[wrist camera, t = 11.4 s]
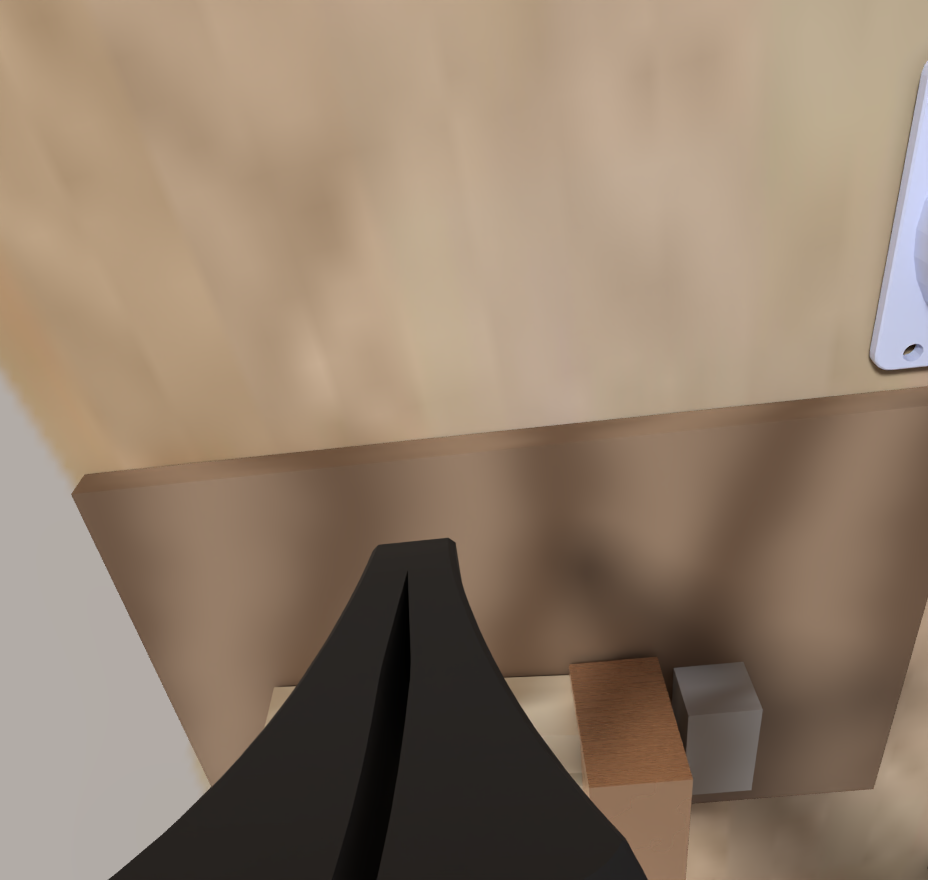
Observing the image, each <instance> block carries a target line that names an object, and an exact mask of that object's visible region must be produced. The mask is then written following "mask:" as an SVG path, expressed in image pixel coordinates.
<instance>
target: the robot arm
mask: <svg viewBox="0 0 928 880" xmlns="http://www.w3.org/2000/svg"><path fill="white" fill-rule="evenodd" d="M913 344H916V346H915V348H914V350H913V351H912V352H910V353H909V354H906V355H903V353H904V351H905V349H906V348H907V347H909V346H910V345H913ZM870 358H871V359H872V361H873V362H874V363H875V364H876V365H877V366H878V367H879V368H881V369H883V370H897V369H906V368H916V367H925V366H928V61H927V63H926V64H925V65H924V68H923V71H922V74H921V78H920V84H919V89H918V94H917V100H916V105H915V111H914V116H913V121H912V127H911V132H910V138H909V143H908V148H907V154H906V159H905V164H904V170H903V175H902V181H901V186H900V191H899V197H898V202H897V208H896V213H895V218H894V224H893V229H892V234H891V240H890V245H889V251H888V256H887V261H886V267H885V272H884V277H883V283H882V288H881V294H880V299H879V304H878V310H877V315H876V321H875V326H874V331H873V337H872V342H871V347H870ZM109 880H648V879H647V877H646V875H645V873H644V871H643V869H642V867H641V865H640V864H639V862H638V860H637V858H636V856H635V855H634V853H633V851H632V849H631V847H630V845H629V843H628V841H627V840H626V838H625V837H624V836H623V835H622V834H621V833H620V832H619V831H618V829H617V828H616V827H615V826H614V825H613V824H612V823H611V822H610V821H609V820H608V819H607V818H606V817H605V815H604V814H603V813H602V812H601V811H600V810H599V809H598V808H597V806H596V805H595V804H594V803H593V802H592V801H591V800H590V798H589V797H588V796H587V795H586V794H585V792H584V791H583V790H582V789H581V788H580V786H579V785H578V784H577V783H576V781H575V780H574V779H573V778H572V777H571V775H570V774H569V773H568V772H567V770H566V769H565V768H564V766H563V765H562V764H561V762H560V761H559V760H558V758H557V757H556V756H555V754H554V753H553V752H552V750H551V749H550V747H549V746H548V745H547V743H546V742H545V741H544V739H543V738H542V737H541V735H540V734H539V733H538V731H537V730H536V728H535V727H534V725H533V724H532V722H531V721H530V719H529V718H528V716H527V715H526V713H525V712H524V710H523V708H522V707H521V705H520V704H519V702H518V700H517V699H516V697H515V696H514V694H513V692H512V691H511V689H510V687H509V686H508V684H507V682H506V680H505V679H504V677H503V675H502V673H501V671H500V669H499V668H498V666H497V664H496V662H495V660H494V658H493V656H492V654H491V652H490V650H489V648H488V646H487V644H486V642H485V640H484V638H483V635H482V633H481V631H480V629H479V627H478V624H477V622H476V619H475V617H474V614H473V612H472V610H471V607H470V605H469V602H468V599H467V596H466V594H465V591H464V587H463V584H462V579H461V573H460V567H459V560H458V554H457V548H456V542H454V541H453V540H451V539H450V538H439V539H430V540H420V541H410V542H400V543H390V544H380V545H377V547H376V548H375V549H374V550H373V551H372V554H371V556H370V558H369V561H368V563H367V565H366V567H365V569H364V571H363V574H362V576H361V578H360V580H359V582H358V584H357V586H356V588H355V590H354V592H353V593H352V595H351V597H350V599H349V601H348V603H347V605H346V607H345V608H344V610H343V612H342V614H341V616H340V617H339V619H338V621H337V623H336V624H335V626H334V628H333V630H332V631H331V633H330V635H329V637H328V638H327V640H326V641H325V643H324V645H323V646H322V648H321V649H320V651H319V652H318V654H317V655H316V657H315V659H314V660H313V662H312V663H311V665H310V666H309V668H308V669H307V671H306V672H305V674H304V676H303V677H302V678H301V680H300V681H299V683H298V684H297V686H296V687H295V688H294V690H293V691H292V693H291V694H290V695H289V697H288V698H287V699H286V701H285V702H284V704H283V705H282V706H281V707H280V709H279V710H278V711H277V713H276V714H275V715H274V716H273V718H272V719H271V720H270V722H269V723H268V724H267V725H266V727H265V728H264V729H263V730H262V731H261V733H260V734H259V735H258V736H257V737H256V738H255V740H254V741H253V742H252V743H251V744H250V745H249V747H248V748H247V749H246V750H245V751H244V752H243V754H242V755H241V756H240V757H239V758H238V759H237V760H236V762H235V763H234V764H233V765H232V766H231V767H230V768H229V769H228V770H227V771H226V772H225V774H224V775H223V776H222V777H221V778H220V779H219V780H218V781H217V782H216V783H215V784H214V785H213V786H212V787H211V788H210V789H209V790H208V791H207V792H206V793H205V794H204V795H203V796H202V797H201V798H200V799H199V800H198V801H197V802H196V803H195V804H194V805H193V806H192V807H191V808H190V809H189V810H188V811H187V812H186V813H185V814H184V815H183V816H182V817H181V818H180V819H178V821H176V822H175V823H174V824H173V825H172V826H171V827H170V828H169V829H168V830H167V831H166V832H165V833H163V834H162V835H161V836H160V837H159V838H158V839H156V840H155V841H154V842H153V843H152V844H151V845H149V846H148V847H147V848H146V849H145V850H143V851H142V852H141V853H140V854H139V855H137V856H136V857H135V858H134V859H133V860H131V861H130V862H129V863H128V864H127V865H126V866H124V867H123V868H122V869H121V870H120V871H118V872H117V873H116V874H115V875H114V876H112V877H111V878H110V879H109Z"/></svg>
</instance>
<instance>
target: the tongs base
mask: <svg viewBox="0 0 928 880" xmlns="http://www.w3.org/2000/svg"><path fill="white" fill-rule="evenodd" d="M71 495H72V497H73V499H74V501H75V503H76V505H77V507H78V510H79V512H80V514H81V516H82V518H83V520H84V522H85V524H86V526H87V528H88V530H89V532H90V535H91V537H92V539H93V541H94V543H95V545H96V547H97V549H98V551H99V553H100V555H101V557H102V560H103V562H104V564H105V566H106V568H107V570H108V572H109V574H110V576H111V578H112V580H113V582H114V585H115V587H116V589H117V591H118V593H119V595H120V597H121V599H122V601H123V603H124V605H125V607H126V609H127V612H128V614H129V616H130V618H131V620H132V622H133V624H134V626H135V628H136V630H137V632H138V634H139V637H140V639H141V641H142V643H143V645H144V647H145V649H146V651H147V653H148V655H149V658H150V660H151V662H152V664H153V666H154V668H155V670H156V672H157V674H158V676H159V678H160V680H161V682H162V685H163V687H164V689H165V691H166V693H167V695H168V697H169V699H170V701H171V703H172V705H173V707H174V709H175V712H176V714H177V716H178V718H179V720H180V722H181V724H182V726H183V728H184V730H185V733H186V735H187V737H188V739H189V741H190V743H191V745H192V747H193V749H194V751H195V753H196V755H197V758H198V760H199V762H200V764H201V766H202V768H203V770H204V772H205V774H206V776H207V778H208V780H209V783H210V785H211V787H212V786H213V785H214V784H215V783H216V782H217V781H218V780H219V779H220V778H221V777H222V776H223V775H224V774H225V772H226V771H227V770H228V769H229V768H230V767H231V766H232V765H233V764H234V763H235V762H236V760H237V759H238V758H239V757H240V756H241V755H242V754H243V752H244V751H245V750H246V749H247V748H248V747H249V745H250V744H251V743H252V742H253V741H254V740H255V738H256V737H257V736H258V735H259V734H260V733H261V731H262V730H263V729H264V728H265V723H266V719H267V715H268V711H269V707H270V702H271V698H272V694H273V690H274V687H292V686H297V684H298V683H299V681H300V680H301V678H302V677H303V676H304V674H305V672H306V671H307V669H308V668H309V666H310V665H311V663H312V662H313V660H314V659H315V657H316V655H317V654H318V652H319V651H320V649H321V648H322V646H323V645H324V643H325V641H326V640H327V638H328V637H329V635H330V633H331V631H332V630H333V628H334V626H335V624H336V623H337V621H338V619H339V617H340V616H341V614H342V612H343V610H344V608H345V607H346V605H347V603H348V601H349V599H350V597H351V595H352V593H353V592H354V590H355V588H356V586H357V584H358V582H359V580H360V578H361V576H362V574H363V571H364V569H365V567H366V565H367V563H368V561H369V558H370V556H371V554H372V551H373V550H374V549H375V548H376V547H377V545H380V544H390V543H400V542H410V541H420V540H430V539H439V538H450V539H451V540H453V541H454V542H456V548H457V554H458V560H459V567H460V573H461V579H462V584H463V587H464V591H465V594H466V596H467V599H468V602H469V605H470V607H471V610H472V612H473V614H474V617H475V619H476V622H477V624H478V627H479V629H480V631H481V633H482V635H483V638H484V640H485V642H486V644H487V646H488V648H489V650H490V652H491V654H492V656H493V658H494V660H495V662H496V664H497V666H498V668H499V669H500V671H501V673H502V675H503V677H504V678H511V677H535V676H560V675H569V664H580V663H591V662H602V661H613V660H624V659H636V658H647V657H657V658H658V661H659V665H660V668H661V671H662V675H663V678H664V682H665V685H666V689H667V692H668V695H669V699H670V702H671V706H672V709H673V712H674V716H675V719H676V723H677V726H678V730H679V733H680V736H681V740H682V743H683V747H684V750H685V754H686V757H687V760H688V764H689V767H690V771H691V774H692V778H693V787H692V800H691V804H693V803H705V802H718V801H730V800H742V799H755V798H767V797H780V796H792V795H805V794H817V793H829V792H842V791H854V790H867V789H874V785H875V781H876V778H877V774H878V771H879V767H880V764H881V760H882V757H883V753H884V750H885V746H886V743H887V739H888V736H889V732H890V729H891V725H892V722H893V718H894V715H895V711H896V708H897V704H898V700H899V697H900V693H901V690H902V686H903V683H904V679H905V676H906V672H907V669H908V665H909V662H910V658H911V655H912V651H913V648H914V644H915V641H916V637H917V634H918V630H919V627H920V623H921V619H922V616H923V612H924V609H925V605H926V602H927V598H928V387H919V388H909V389H900V390H890V391H880V392H871V393H861V394H852V395H842V396H833V397H823V398H813V399H804V400H794V401H785V402H775V403H766V404H756V405H746V406H737V407H727V408H718V409H708V410H699V411H689V412H679V413H670V414H660V415H651V416H641V417H631V418H622V419H612V420H603V421H593V422H584V423H574V424H564V425H555V426H545V427H536V428H526V429H517V430H507V431H497V432H488V433H478V434H469V435H459V436H450V437H440V438H430V439H421V440H411V441H402V442H392V443H383V444H373V445H363V446H354V447H344V448H335V449H325V450H316V451H306V452H296V453H287V454H277V455H268V456H258V457H249V458H239V459H229V460H220V461H210V462H201V463H191V464H182V465H172V466H162V467H153V468H143V469H134V470H124V471H114V472H105V473H95V474H86V475H84V476H83V478H82V479H81V481H80V482H79V484H78V485H77V487H76V488H75V489H74V491H73V492H72V494H71ZM569 774H570V775H571V777H572V778H573V779H574V780H575V781H576V783H577V784H578V785H579V786H580V788H581V789H582V790H583V788H582V773H569Z"/></svg>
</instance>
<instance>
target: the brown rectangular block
mask: <svg viewBox="0 0 928 880" xmlns="http://www.w3.org/2000/svg"><path fill="white" fill-rule="evenodd" d="M569 677H570V683H571V689H572V695H573V701H574V708H575V714H576V720H577V726H578V732H579V738H580V750H581V769H582V788H583V791H584V792H585V794H586V795H587V796H588V797H589V798H590V800H591V801H592V802H593V803H594V804H595V805H596V806H597V808H598V809H599V810H600V811H601V812H602V813H603V814H604V815H605V817H606V818H607V819H608V820H609V821H610V822H611V823H612V824H613V825H614V826H615V827H616V828H617V829H618V831H619V832H620V833H621V834H622V835H623V836H624V837H625V838H626V840H627V841H628V843H629V845H630V847H631V849H632V851H633V853H634V855H635V856H636V858H637V860H638V862H639V864H640V865H641V867H642V869H643V871H644V873H645V875H646V877H647V879H648V880H686V867H687V854H688V841H689V827H690V814H691V800H692V787H693V778H692V774H691V771H690V767H689V764H688V760H687V757H686V754H685V750H684V747H683V743H682V740H681V736H680V733H679V730H678V726H677V723H676V719H675V716H674V712H673V709H672V706H671V702H670V699H669V695H668V692H667V689H666V685H665V682H664V678H663V675H662V671H661V668H660V665H659V661H658V658H657V657H647V658H636V659H624V660H613V661H602V662H591V663H580V664H569Z"/></svg>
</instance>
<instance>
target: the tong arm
mask: <svg viewBox="0 0 928 880" xmlns="http://www.w3.org/2000/svg"><path fill="white" fill-rule="evenodd" d="M504 679H505V680H506V682H507V684H508V686H509V687H510V689H511V691H512V692H513V694H514V696H515V697H516V699H517V700H518V702H519V704H520V705H521V707H522V708H523V710H524V712H525V713H526V715H527V716H528V718H529V719H530V721H531V722H532V724H533V725H534V727H535V728H536V730H537V731H538V733H539V734H540V735H541V737H542V738H543V739H544V741H545V742H546V743H547V745H548V746H549V747H550V749H551V750H552V752H553V753H554V754H555V756H556V757H557V758H558V760H559V761H560V762H561V764H562V765H563V766H564V768H565V769H566V770H567V772H568V773H582V769H581V750H580V738H579V732H578V726H577V720H576V714H575V708H574V701H573V695H572V689H571V683H570V677H569V675H560V676H535V677H511V678H504ZM295 687H296V686H292V687H274V690H273V694H272V698H271V702H270V707H269V711H268V715H267V719H266V723H265V727H266V725H267V724H268V723H269V722H270V720H271V719H272V718H273V716H274V715H275V714H276V713H277V711H278V710H279V709H280V707H281V706H282V705H283V704H284V702H285V701H286V699H287V698H288V697H289V695H290V694H291V693H292V691H293V690H294V688H295Z"/></svg>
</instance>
